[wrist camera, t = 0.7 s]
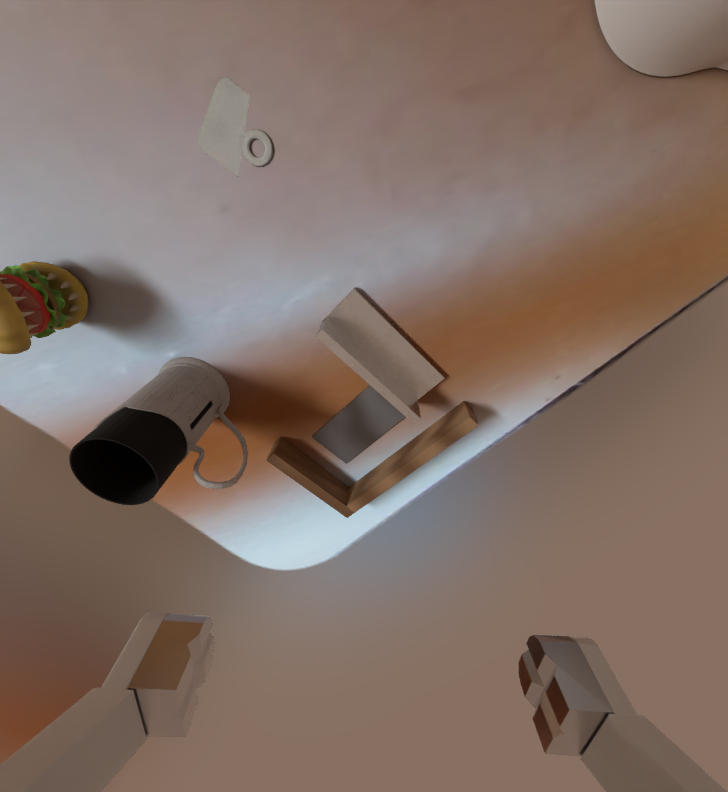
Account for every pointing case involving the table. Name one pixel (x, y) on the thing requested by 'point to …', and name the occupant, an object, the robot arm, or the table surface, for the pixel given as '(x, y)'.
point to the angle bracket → (379, 353)
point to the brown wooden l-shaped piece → (355, 434)
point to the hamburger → (37, 303)
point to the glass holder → (155, 434)
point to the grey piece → (231, 129)
